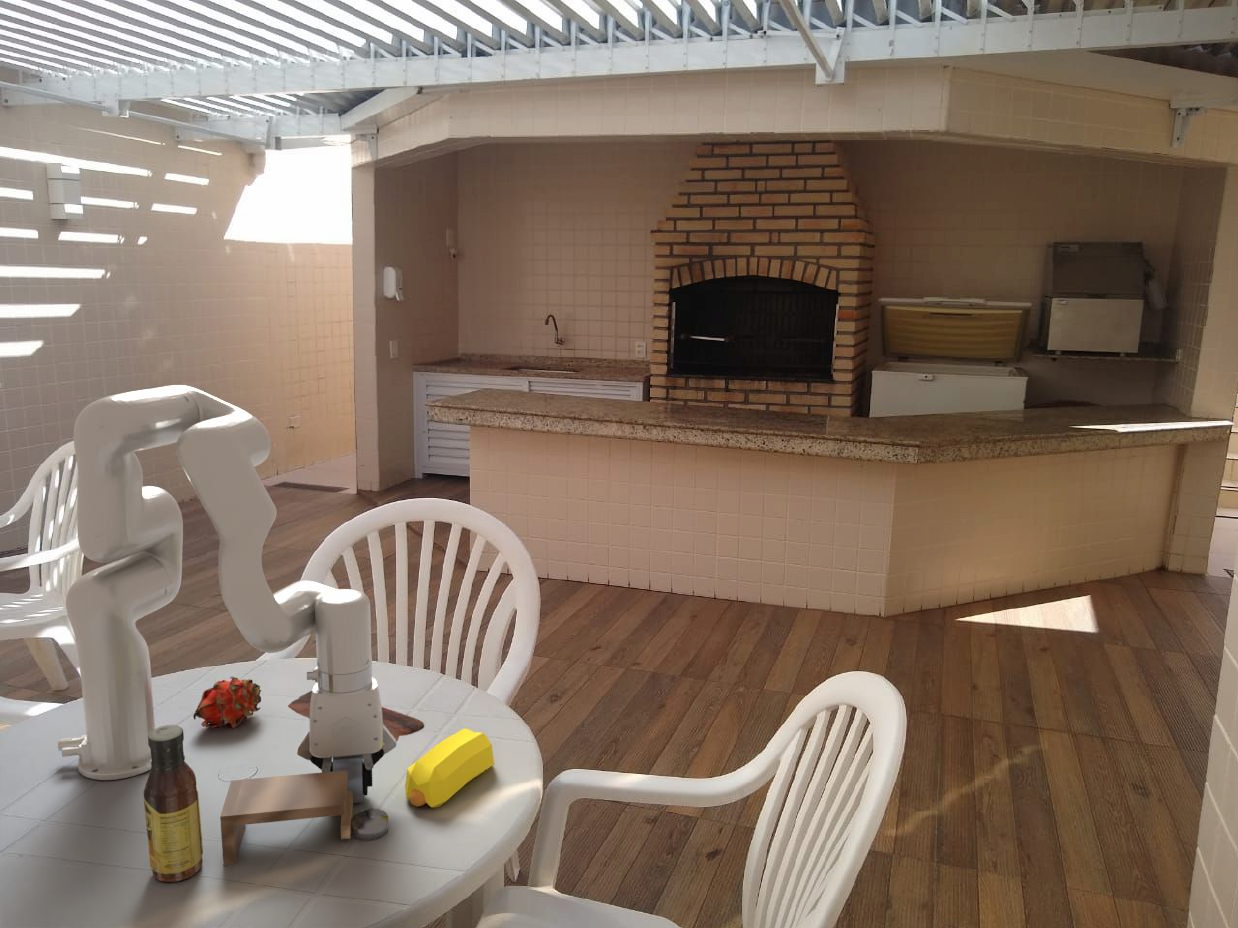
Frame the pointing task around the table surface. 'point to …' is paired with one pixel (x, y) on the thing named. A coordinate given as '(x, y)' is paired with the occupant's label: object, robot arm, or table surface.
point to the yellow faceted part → (448, 768)
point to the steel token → (369, 824)
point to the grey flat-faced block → (350, 788)
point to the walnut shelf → (279, 803)
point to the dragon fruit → (228, 702)
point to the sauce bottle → (172, 808)
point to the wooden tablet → (391, 719)
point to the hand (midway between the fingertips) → (349, 790)
